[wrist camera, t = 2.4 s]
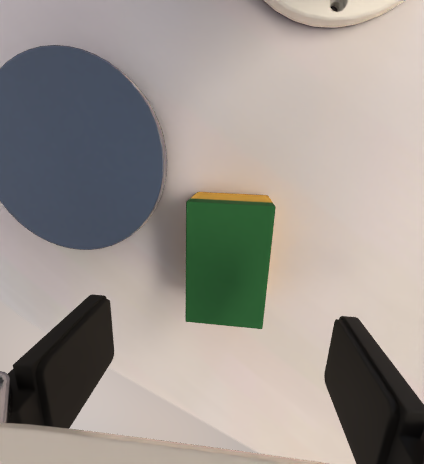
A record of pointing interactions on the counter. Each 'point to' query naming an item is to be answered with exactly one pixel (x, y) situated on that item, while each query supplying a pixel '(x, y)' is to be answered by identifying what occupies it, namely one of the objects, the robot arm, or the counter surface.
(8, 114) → the plate
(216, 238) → the sponge
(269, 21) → the counter surface
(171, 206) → the counter surface
